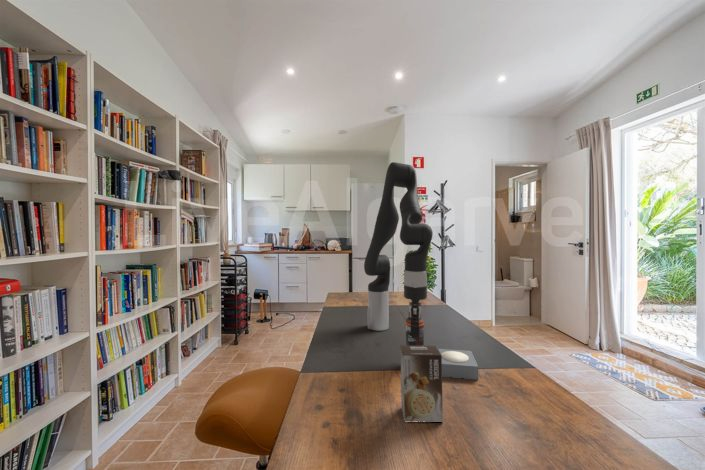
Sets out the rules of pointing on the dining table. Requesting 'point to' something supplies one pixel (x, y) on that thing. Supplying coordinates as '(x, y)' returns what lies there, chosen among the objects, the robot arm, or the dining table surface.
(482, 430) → the dining table surface
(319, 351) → the dining table surface
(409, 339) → the supplement bottle
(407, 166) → the robot arm
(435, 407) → the coffee box
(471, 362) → the base block
